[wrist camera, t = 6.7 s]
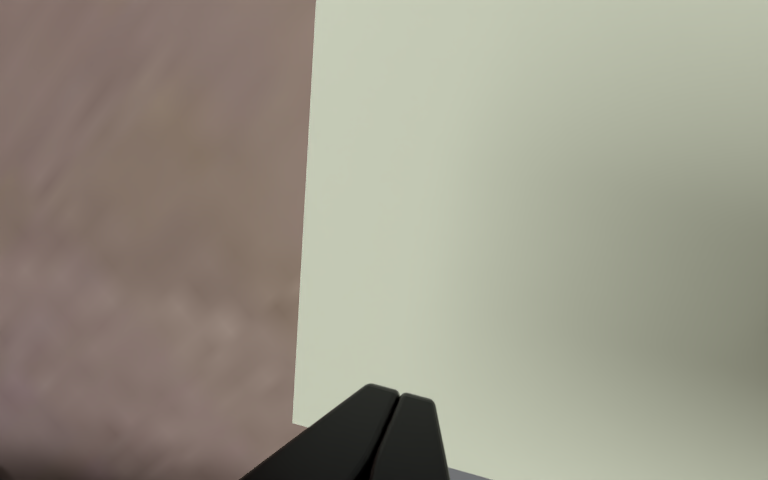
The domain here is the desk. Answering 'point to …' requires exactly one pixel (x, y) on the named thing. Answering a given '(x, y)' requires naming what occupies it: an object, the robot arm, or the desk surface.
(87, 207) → the desk surface
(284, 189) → the desk surface
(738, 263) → the pale smooth panel
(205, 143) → the desk surface
